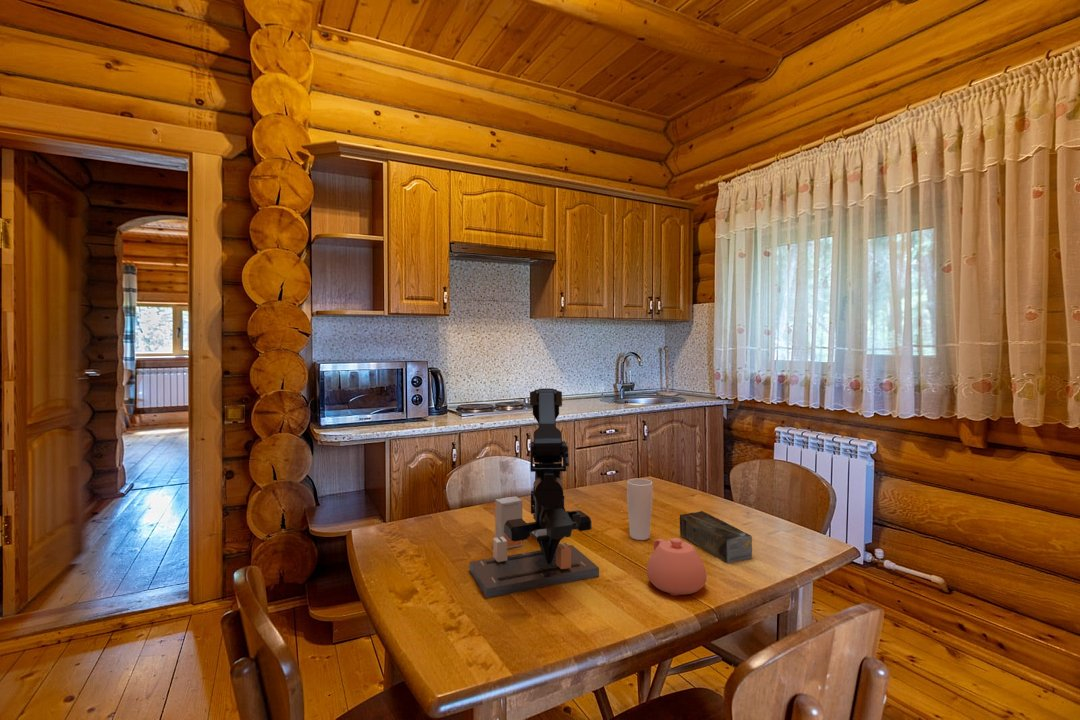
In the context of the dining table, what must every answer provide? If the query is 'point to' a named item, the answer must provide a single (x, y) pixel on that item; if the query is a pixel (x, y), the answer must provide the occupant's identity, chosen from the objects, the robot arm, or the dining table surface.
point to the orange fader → (563, 556)
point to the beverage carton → (716, 536)
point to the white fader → (500, 549)
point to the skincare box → (507, 517)
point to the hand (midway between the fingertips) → (548, 563)
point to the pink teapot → (676, 567)
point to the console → (528, 572)
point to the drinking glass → (639, 507)
